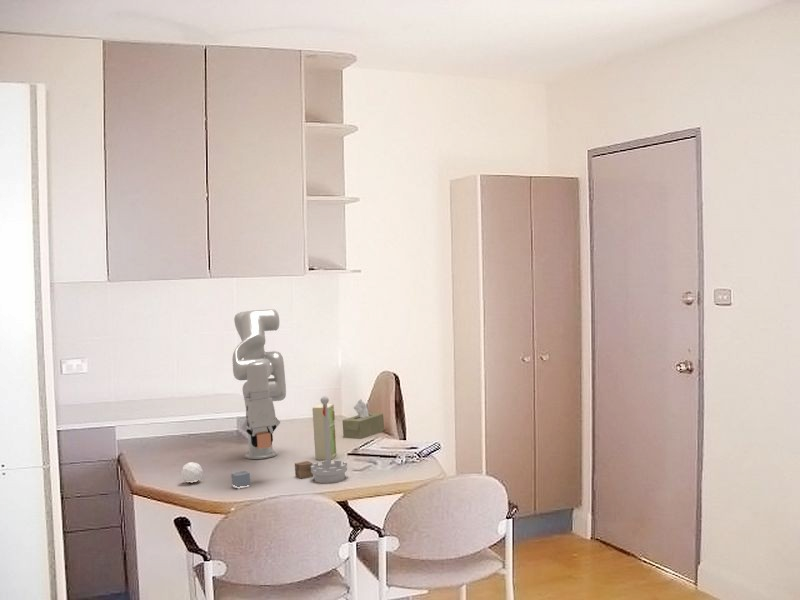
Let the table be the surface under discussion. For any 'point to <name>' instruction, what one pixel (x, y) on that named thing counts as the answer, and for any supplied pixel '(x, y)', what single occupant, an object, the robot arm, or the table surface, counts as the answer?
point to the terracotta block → (263, 439)
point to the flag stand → (328, 457)
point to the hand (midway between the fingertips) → (262, 444)
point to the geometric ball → (191, 471)
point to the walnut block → (303, 469)
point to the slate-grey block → (241, 478)
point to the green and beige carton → (320, 432)
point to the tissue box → (363, 423)
